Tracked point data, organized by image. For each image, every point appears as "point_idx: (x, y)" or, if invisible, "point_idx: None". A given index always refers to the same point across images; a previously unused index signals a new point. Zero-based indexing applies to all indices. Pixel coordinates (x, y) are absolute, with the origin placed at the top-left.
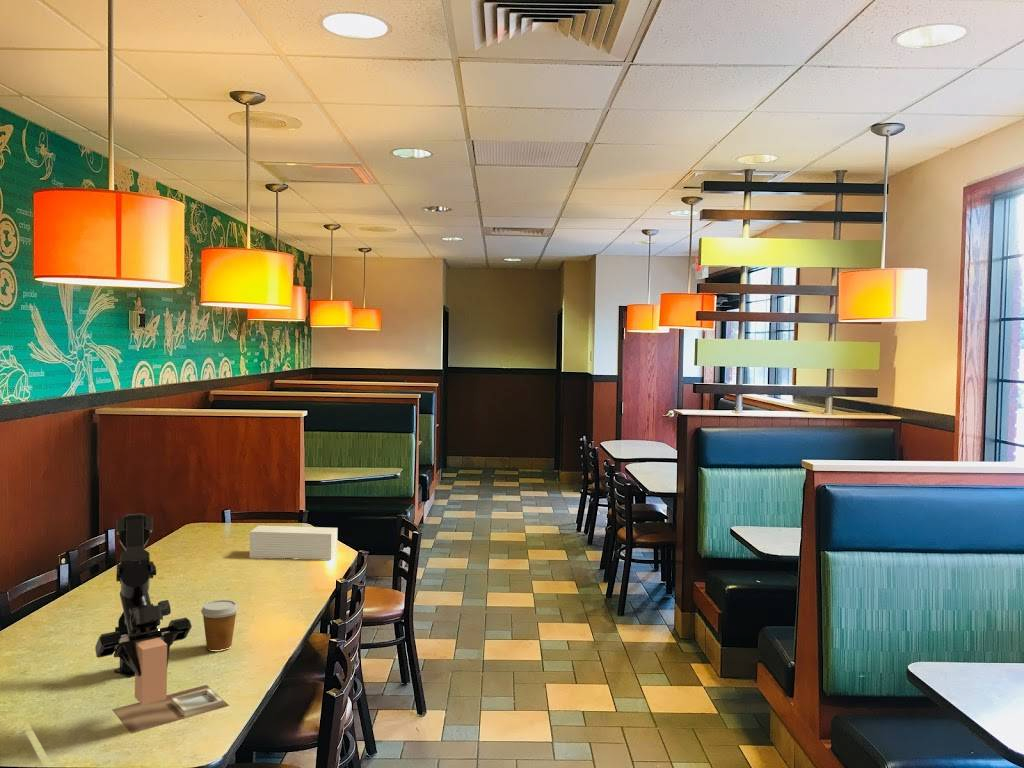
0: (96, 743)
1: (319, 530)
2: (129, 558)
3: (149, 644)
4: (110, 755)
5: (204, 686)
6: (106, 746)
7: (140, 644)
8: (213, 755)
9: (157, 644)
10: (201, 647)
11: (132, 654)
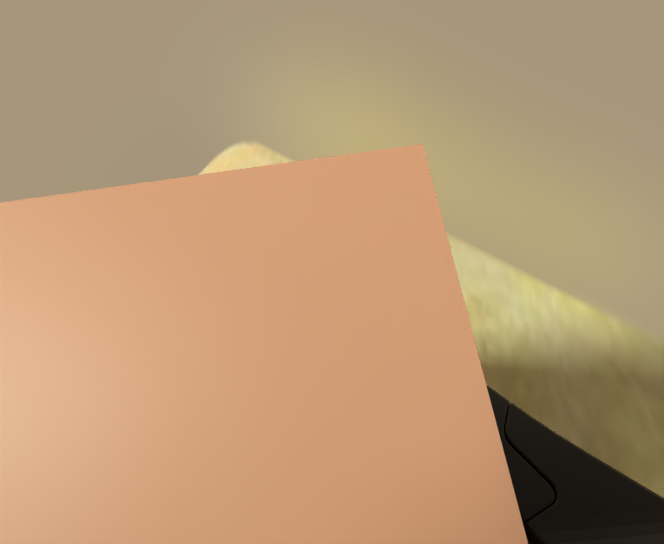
0: (512, 372)
1: None
2: None
3: (224, 392)
4: (468, 268)
5: None
6: (480, 332)
7: (445, 542)
8: (238, 153)
9: (87, 288)
10: None
11: (545, 463)
